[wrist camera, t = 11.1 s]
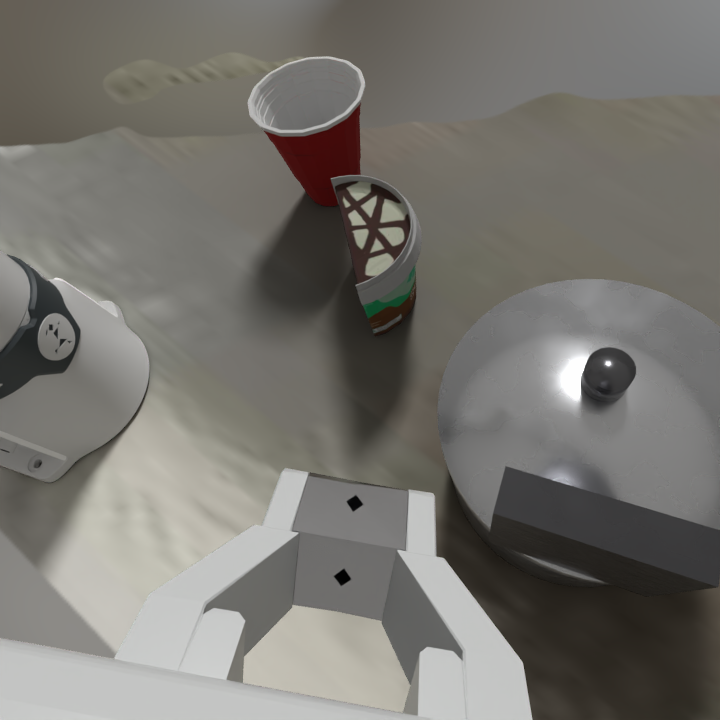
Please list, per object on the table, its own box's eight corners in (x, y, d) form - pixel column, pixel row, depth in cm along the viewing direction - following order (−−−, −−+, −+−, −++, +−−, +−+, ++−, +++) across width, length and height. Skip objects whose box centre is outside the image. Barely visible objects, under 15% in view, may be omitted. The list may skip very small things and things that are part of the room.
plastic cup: (398, 154, 59) (381, 52, 48) (362, 232, 55) (336, 141, 45) (310, 141, 62) (276, 43, 52) (271, 214, 59) (226, 125, 48)
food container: (444, 333, 49) (437, 269, 40) (378, 350, 49) (356, 291, 40) (411, 229, 54) (399, 153, 45) (352, 245, 55) (329, 173, 46)
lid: (400, 518, 32) (370, 477, 23) (482, 267, 39) (484, 158, 30) (752, 641, 27) (898, 652, 17) (780, 324, 33) (898, 209, 24)
